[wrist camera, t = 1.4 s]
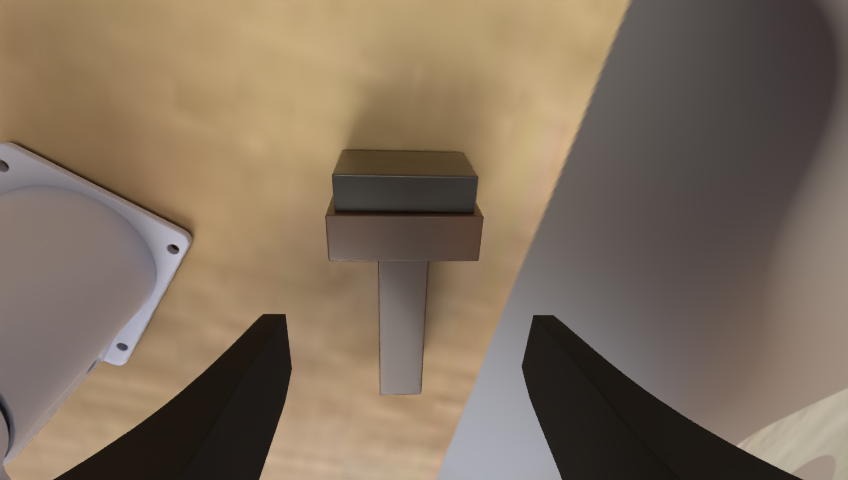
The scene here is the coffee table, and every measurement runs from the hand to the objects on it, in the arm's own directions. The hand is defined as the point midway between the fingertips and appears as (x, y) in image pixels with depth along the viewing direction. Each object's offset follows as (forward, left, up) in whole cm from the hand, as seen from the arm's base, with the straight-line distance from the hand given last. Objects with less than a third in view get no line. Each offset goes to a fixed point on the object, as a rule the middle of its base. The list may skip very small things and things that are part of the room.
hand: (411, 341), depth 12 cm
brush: (-2, -2, -9) cm, 9 cm away
